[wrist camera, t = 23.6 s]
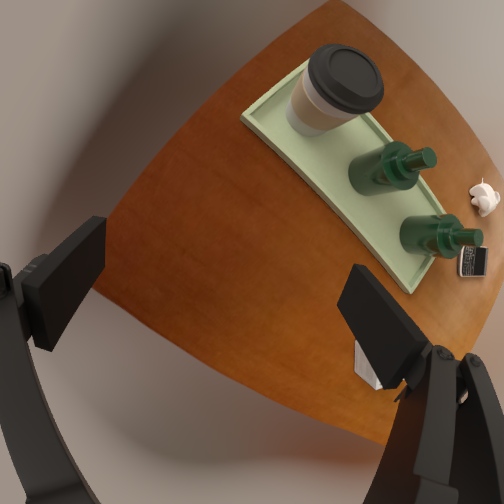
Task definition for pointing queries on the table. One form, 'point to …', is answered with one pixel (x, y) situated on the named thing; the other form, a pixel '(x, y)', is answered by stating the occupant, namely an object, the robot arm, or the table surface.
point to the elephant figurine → (484, 198)
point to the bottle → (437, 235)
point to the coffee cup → (334, 90)
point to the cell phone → (472, 261)
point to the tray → (346, 178)
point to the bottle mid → (389, 168)
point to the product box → (365, 368)
